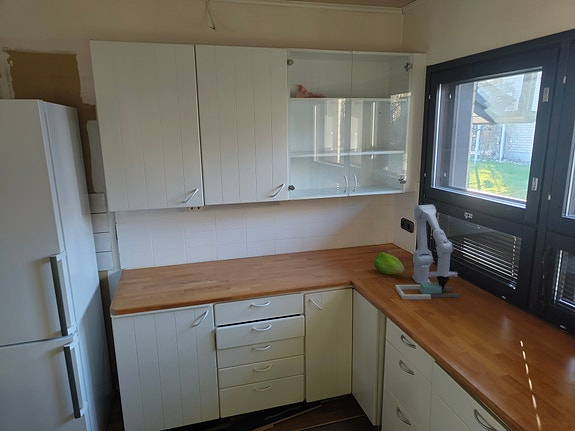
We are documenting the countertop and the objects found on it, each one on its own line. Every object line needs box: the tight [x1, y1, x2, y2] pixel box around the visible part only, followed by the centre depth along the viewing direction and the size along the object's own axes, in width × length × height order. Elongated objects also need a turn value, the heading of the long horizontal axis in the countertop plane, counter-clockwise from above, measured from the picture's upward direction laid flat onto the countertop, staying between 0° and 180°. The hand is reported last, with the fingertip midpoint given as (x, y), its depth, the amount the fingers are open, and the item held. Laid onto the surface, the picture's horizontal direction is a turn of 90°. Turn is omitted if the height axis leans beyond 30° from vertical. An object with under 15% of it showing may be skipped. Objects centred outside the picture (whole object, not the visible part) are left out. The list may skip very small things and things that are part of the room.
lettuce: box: [373, 252, 406, 275], centre depth 228 cm, size 14×20×12 cm
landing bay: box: [394, 284, 432, 300], centre depth 202 cm, size 14×14×2 cm
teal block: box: [419, 282, 442, 294], centre depth 201 cm, size 6×9×5 cm, turn 89°
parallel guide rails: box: [430, 286, 460, 298], centre depth 201 cm, size 9×15×2 cm, turn 89°
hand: (441, 289), depth 201 cm, fingers closed
